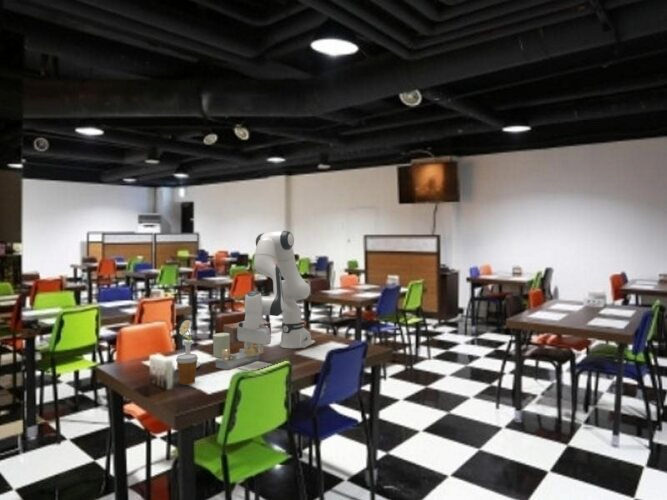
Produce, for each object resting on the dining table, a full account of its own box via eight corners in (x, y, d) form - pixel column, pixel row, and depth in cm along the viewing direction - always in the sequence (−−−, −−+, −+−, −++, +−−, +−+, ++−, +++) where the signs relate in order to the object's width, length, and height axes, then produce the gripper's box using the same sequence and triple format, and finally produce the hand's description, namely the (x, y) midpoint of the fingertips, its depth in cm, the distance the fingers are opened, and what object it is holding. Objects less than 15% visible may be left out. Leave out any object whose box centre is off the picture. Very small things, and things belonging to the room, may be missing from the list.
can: (225, 357, 251) (225, 335, 251) (210, 357, 253) (209, 335, 253) (233, 353, 260) (232, 332, 260) (217, 352, 262) (217, 331, 262)
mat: (257, 362, 242) (257, 361, 242) (271, 365, 236) (271, 363, 236) (237, 368, 230) (237, 367, 230) (252, 372, 224) (252, 370, 224)
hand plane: (247, 357, 251) (246, 339, 251) (259, 359, 246) (259, 341, 246) (215, 367, 233) (215, 347, 233) (228, 370, 228) (227, 350, 228)
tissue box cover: (233, 344, 282) (233, 328, 282) (223, 340, 294) (223, 324, 294) (270, 338, 298) (270, 323, 297) (260, 334, 309) (260, 319, 309)
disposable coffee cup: (179, 379, 214) (178, 353, 214) (200, 378, 215) (199, 353, 215) (174, 386, 205) (173, 359, 204) (196, 385, 206) (195, 358, 205)
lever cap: (256, 351, 237) (256, 344, 237) (263, 352, 234) (263, 345, 234) (244, 354, 231) (244, 347, 231) (252, 356, 228) (251, 348, 228)
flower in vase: (175, 367, 235) (174, 317, 234) (198, 364, 239) (197, 316, 238) (177, 374, 223) (176, 322, 222) (202, 371, 227) (201, 320, 227)
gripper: (273, 325, 229) (274, 353, 229) (244, 321, 240) (244, 347, 241) (264, 327, 224) (265, 355, 224) (235, 323, 235) (235, 350, 236)
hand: (254, 351), depth 233 cm, fingers closed on lever cap, 5 cm apart
